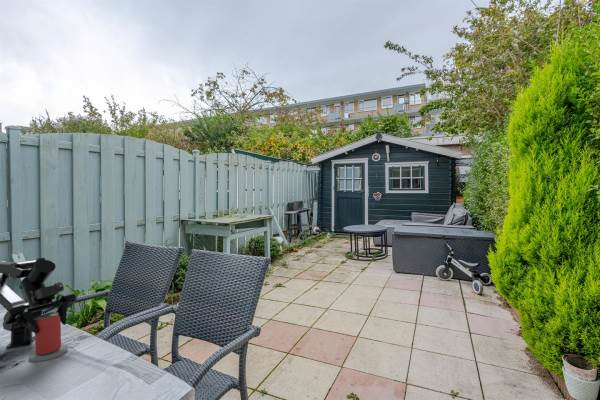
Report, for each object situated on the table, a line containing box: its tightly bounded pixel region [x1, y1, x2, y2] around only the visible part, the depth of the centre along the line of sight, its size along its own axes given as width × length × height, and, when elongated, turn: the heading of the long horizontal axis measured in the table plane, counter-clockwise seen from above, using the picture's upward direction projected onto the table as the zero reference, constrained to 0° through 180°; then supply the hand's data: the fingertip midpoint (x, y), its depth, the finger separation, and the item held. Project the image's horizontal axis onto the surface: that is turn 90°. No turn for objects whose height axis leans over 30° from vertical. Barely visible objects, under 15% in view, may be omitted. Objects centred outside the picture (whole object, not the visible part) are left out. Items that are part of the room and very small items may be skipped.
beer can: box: [34, 311, 62, 355], centre depth 99 cm, size 7×7×12 cm
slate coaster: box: [28, 344, 69, 363], centre depth 99 cm, size 10×10×1 cm
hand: (51, 328), depth 99 cm, fingers open, 7 cm apart
